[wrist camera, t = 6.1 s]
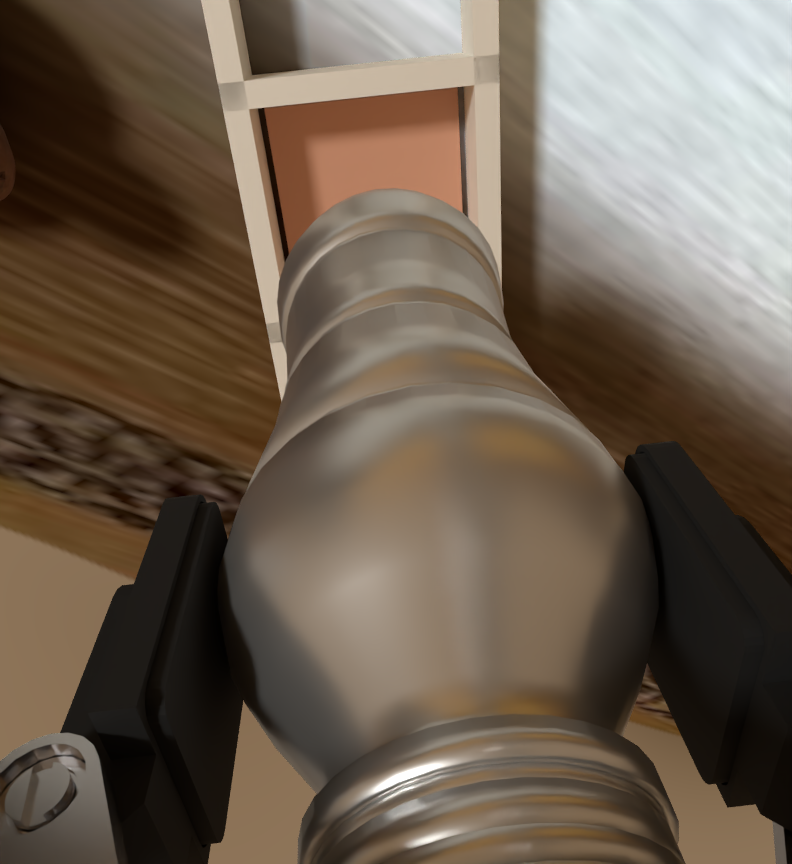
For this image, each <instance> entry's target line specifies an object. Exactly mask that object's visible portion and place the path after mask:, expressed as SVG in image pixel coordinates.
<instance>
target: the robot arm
mask: <svg viewBox="0 0 792 864" xmlns="http://www.w3.org/2000/svg"><path fill="white" fill-rule="evenodd" d="M624 474H625V475H626V477H627V478H628V480H629V481H630V483H631V484H632V486H633V487H634V489H635V490H636V492H637V493H638V495H639V496H640V498H641V499H642V502H643V505H644V508H645V511H646V514H647V517H648V520H649V523H650V528H651V532H652V537H653V544H654V551H655V559H656V566H657V574H658V595H659V609H658V614H657V618H656V623H655V627H654V632H653V637H652V641H651V646H650V650H649V655H648V660H647V663H648V665H649V667H650V670H651V672H652V674H653V676H654V678H655V680H656V682H657V684H658V687H659V689H660V691H661V693H662V695H663V697H664V699H665V701H666V704H667V706H668V708H669V710H670V712H671V714H672V716H673V718H674V721H675V723H676V725H677V727H678V729H679V731H680V733H681V736H682V738H683V740H684V742H685V744H686V746H687V748H688V750H689V753H690V755H691V757H692V759H693V761H694V763H695V765H696V767H697V770H698V772H699V773H700V775H701V777H702V779H703V780H704V781H705V783H707V784H716V785H717V787H718V789H719V791H720V793H721V795H722V797H723V799H724V801H725V803H726V805H727V807H736V806H744V805H753V804H756V806H757V808H758V810H759V812H760V814H762V815H763V816H765V817H766V818H769V819H770V820H772V821H773V832H774V844H775V856H776V864H792V575H791V573H790V572H789V571H788V570H787V568H786V567H785V566H784V565H783V563H782V562H781V561H780V560H779V558H778V557H777V556H776V555H775V553H774V552H773V551H772V550H771V548H770V547H769V546H768V545H767V543H766V542H765V541H764V540H763V538H762V537H761V536H760V535H759V533H758V532H757V531H756V530H755V528H754V527H753V526H752V525H751V524H750V523H749V522H748V521H747V520H746V519H745V518H744V517H741V516H739V515H734V513H733V512H732V511H731V510H730V508H729V507H728V506H727V504H726V503H725V502H724V501H723V499H722V498H721V497H720V495H719V494H718V493H717V492H716V490H715V489H714V488H713V487H712V485H711V484H710V483H709V481H708V480H707V479H706V478H705V476H704V475H703V474H702V472H701V471H700V470H699V469H698V467H697V466H696V465H695V464H694V462H693V461H692V460H691V458H690V457H689V456H688V455H687V453H686V452H685V451H684V449H683V448H682V447H681V446H680V445H679V444H678V443H677V442H675V441H670V442H661V443H652V444H643V445H639V446H638V447H637V450H636V453H635V454H633V455H628V456H627V457H626V460H625V467H624ZM227 542H228V539H227V535H226V532H225V528H224V524H223V521H222V517H221V514H220V510H219V507H218V505H217V503H216V502H210V503H206V500H205V498H204V496H203V495H192V496H183V497H175V498H167V499H165V501H164V503H163V505H162V508H161V511H160V513H159V516H158V519H157V522H156V524H155V527H154V530H153V533H152V535H151V538H150V541H149V544H148V547H147V549H146V552H145V555H144V558H143V560H142V563H141V566H140V569H139V572H138V574H137V577H136V580H135V583H134V584H131V585H122V586H121V587H120V588H118V589H117V591H116V593H115V594H114V596H113V598H112V601H111V604H110V606H109V609H108V611H107V614H106V616H105V619H104V622H103V624H102V627H101V629H100V632H99V634H98V637H97V640H96V642H95V645H94V647H93V650H92V653H91V655H90V658H89V660H88V663H87V665H86V668H85V670H84V673H83V676H82V678H81V681H80V683H79V686H78V689H77V691H76V694H75V696H74V699H73V701H72V704H71V707H70V709H69V712H68V714H67V717H66V720H65V722H64V725H63V727H62V730H61V732H60V733H57V734H49V735H46V736H43V737H40V738H37V739H34V740H31V741H29V742H28V743H26V744H24V745H22V746H20V747H19V748H17V749H15V750H13V751H12V752H11V753H10V754H8V755H7V756H6V757H5V758H4V759H2V760H1V761H0V864H208V858H209V852H210V846H211V844H213V843H220V842H221V841H222V839H223V836H224V831H225V825H226V819H227V811H228V804H229V797H230V790H231V783H232V776H233V769H234V761H235V754H236V748H237V741H238V734H239V726H240V719H241V712H242V705H243V698H242V696H241V694H240V692H239V690H238V688H237V686H236V685H235V683H234V681H233V679H232V677H231V673H230V668H229V663H228V658H227V653H226V648H225V643H224V638H223V632H222V627H221V622H220V617H219V611H218V599H217V586H218V573H219V566H220V563H221V560H222V557H223V554H224V552H225V548H226V545H227Z"/></svg>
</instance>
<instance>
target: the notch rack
mask: <svg viewBox="0 0 792 864" xmlns="http://www.w3.org/2000/svg"><path fill="white" fill-rule="evenodd" d="M201 2H202V7H203V12H204V17H205V22H206V27H207V32H208V37H209V42H210V47H211V51H212V56H213V61H214V66H215V71H216V76H217V81H218V86H219V91H220V96H221V101H222V106H223V111H224V116H225V121H226V126H227V131H228V136H229V141H230V146H231V151H232V156H233V161H234V166H235V171H236V176H237V181H238V186H239V191H240V196H241V201H242V206H243V211H244V216H245V221H246V226H247V231H248V236H249V241H250V246H251V251H252V256H253V261H254V266H255V271H256V276H257V281H258V286H259V291H260V296H261V301H262V306H263V311H264V316H265V321H266V326H267V331H268V336H269V341H270V346H271V351H272V356H273V361H274V366H275V371H276V376H277V381H278V386H279V391H280V396H281V401H282V399H283V396H284V393H285V387H286V383H287V354H286V351H285V348H284V345H283V342H282V339H281V332H280V325H279V316H278V307H277V297H278V287H279V280H280V277H281V274H282V270H283V267H284V264H285V259H284V253H283V248H282V242H281V236H280V231H279V225H278V219H277V214H276V208H275V202H274V197H273V191H272V185H271V180H270V174H269V168H268V163H267V157H266V151H265V146H264V140H263V134H262V129H261V123H260V117H259V112H258V108H264V111H265V116H266V122H267V128H268V134H269V140H270V145H271V151H272V157H273V163H274V169H275V174H276V180H277V186H278V192H279V198H280V203H281V209H282V215H283V221H284V227H285V233H286V238H287V244H288V250H289V254H290V252H291V250H292V249H293V247H294V245H295V243H296V242H297V240H298V239H299V238H300V237H301V236H302V234H303V233H304V232H305V231H306V230H307V229H308V228H309V226H310V225H311V224H312V223H313V222H314V221H315V220H316V219H317V218H318V217H319V216H321V215H322V214H323V213H325V212H326V211H327V210H328V209H330V208H331V207H332V206H334V205H335V204H337V203H339V202H341V201H343V200H345V199H347V198H349V197H351V196H353V195H356V194H359V193H363V192H367V191H370V190H374V189H388V188H399V189H407V190H414V191H418V192H421V193H424V194H426V195H429V196H432V197H435V198H437V199H440V200H442V201H444V202H446V203H447V204H449V205H451V206H452V207H454V208H456V209H457V210H459V211H460V212H462V186H461V161H460V136H459V110H458V88H457V87H462V86H463V87H464V116H465V144H466V172H467V201H468V218H469V219H470V220H471V221H472V222H473V223H474V224H475V225H476V226H477V227H478V228H479V230H480V231H481V233H482V234H483V236H484V237H485V239H486V240H487V242H488V243H489V245H490V247H491V249H492V252H493V255H494V257H495V260H496V263H497V265H498V271H499V276H500V281H501V288H502V263H501V172H500V81H499V0H460V2H461V31H462V53H456V54H446V55H437V56H427V57H418V58H408V59H399V60H390V61H380V62H371V63H361V64H352V65H342V66H333V67H324V68H314V69H305V70H295V71H286V72H277V73H267V74H258V75H252V72H251V66H250V61H249V55H248V49H247V44H246V38H245V32H244V27H243V21H242V15H241V10H240V4H239V0H201ZM453 87H454V88H453ZM443 88H445V89H443ZM434 89H436V90H434ZM425 90H426V91H425ZM415 91H417V92H415ZM406 92H408V93H406ZM396 93H398V94H396ZM387 94H389V95H387ZM378 95H379V96H378ZM368 96H370V97H368ZM359 97H361V98H359ZM350 98H351V99H350ZM340 99H342V100H340ZM331 100H333V101H331ZM322 101H323V102H322ZM312 102H314V103H312ZM303 103H304V104H303ZM293 104H295V105H293ZM284 105H286V106H284ZM275 106H276V107H275ZM265 107H267V108H265ZM462 213H463V212H462Z"/></svg>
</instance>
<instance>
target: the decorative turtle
mask: <svg viewBox="0 0 792 864" xmlns="http://www.w3.org/2000/svg"><path fill="white" fill-rule="evenodd" d="M15 176H16V172H15V160H14V157H13V153H12V150H11V148H10V145H9V142H8V139H7V137H6V134H5V132H4V129H3V128H2V126H1V124H0V201H1V200H3V199H5V198H6V197H7V196H8V195H9V194H10V193H11V191H12V189H13V186H14V183H15Z"/></svg>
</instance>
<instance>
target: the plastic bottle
mask: <svg viewBox="0 0 792 864" xmlns="http://www.w3.org/2000/svg"><path fill="white" fill-rule="evenodd" d="M503 306H504V301H503V294H502V288H501V281H500V276H499V271H498V265H497V263H496V260H495V257H494V255H493V252H492V249H491V247H490V245H489V243H488V242H487V240H486V239H485V237H484V236H483V234H482V233H481V231H480V230H479V228H478V227H477V226H476V225H475V224H474V223H473V222H472V221H471V220H470V219H469V218H468V217H467V216H465V215H464V214H463V213H462V212H460V211H459V210H457V209H456V208H454V207H452V206H451V205H449V204H447V203H446V202H444V201H442V200H440V199H437V198H435V197H432V196H429V195H426V194H424V193H421V192H418V191H414V190H407V189H399V188H388V189H374V190H370V191H367V192H363V193H359V194H356V195H353V196H351V197H349V198H347V199H345V200H343V201H341V202H339V203H337V204H335V205H334V206H332V207H331V208H330V209H328V210H327V211H326V212H325V213H323V214H322V215H321V216H319V217H318V218H317V219H316V220H315V221H314V222H313V223H312V224H311V225H310V226H309V228H308V229H307V230H306V231H305V232H304V233H303V234H302V236H301V237H300V238H299V239H298V240H297V242H296V243H295V245H294V247H293V249H292V250H291V252H290V254H289V256H288V257H287V259H286V261H285V264H284V267H283V270H282V274H281V277H280V280H279V287H278V297H277V307H278V316H279V325H280V332H281V339H282V342H283V345H284V348H285V351H286V354H287V383H286V387H285V393H284V396H283V399H282V402H281V406H280V410H279V414H278V418H277V422H276V426H275V428H274V430H273V432H272V435H271V437H270V439H269V441H268V443H267V446H266V448H265V450H264V452H263V454H262V457H261V459H260V461H259V463H258V465H257V468H256V470H255V472H254V474H253V477H252V479H251V481H250V483H249V485H248V488H247V491H246V493H245V495H244V496H243V498H242V500H241V503H240V506H239V509H238V511H237V514H236V517H235V520H234V523H233V526H232V528H231V532H230V535H229V538H228V542H227V545H226V548H225V552H224V554H223V557H222V560H221V563H220V566H219V573H218V586H217V599H218V611H219V617H220V622H221V627H222V632H223V638H224V643H225V648H226V653H227V658H228V663H229V668H230V673H231V677H232V679H233V681H234V683H235V685H236V686H237V688H238V690H239V692H240V694H241V696H242V698H243V700H244V702H245V704H246V705H247V707H248V708H249V710H250V711H251V712H252V714H253V715H254V717H255V718H256V720H257V721H258V722H259V724H260V726H261V727H262V729H263V730H264V731H265V733H266V735H267V736H268V738H269V739H270V740H271V742H272V743H273V745H274V746H275V748H276V749H277V750H278V751H279V752H280V754H281V755H282V756H283V757H284V758H285V759H286V760H287V761H288V762H289V764H290V765H291V766H292V767H293V768H294V769H295V770H296V771H297V772H298V774H299V775H300V776H301V777H302V778H303V779H304V780H305V781H306V783H307V784H308V785H309V786H310V787H311V788H312V789H313V790H314V791H315V793H316V794H317V795H316V796H315V797H314V799H313V801H312V802H311V804H310V806H309V808H308V809H307V811H306V813H305V815H304V817H303V818H302V823H301V828H300V833H299V838H298V864H685V862H684V859H683V857H682V854H681V852H680V850H679V847H678V845H677V844H678V841H679V823H678V819H677V817H676V814H675V812H674V809H673V807H672V805H671V802H670V800H669V798H668V795H667V793H666V791H665V789H664V786H663V784H662V782H661V780H660V777H659V775H658V773H657V771H656V768H655V766H654V764H653V762H652V761H651V760H650V759H649V758H648V757H647V756H646V755H645V754H644V752H643V751H642V750H641V749H640V748H639V747H638V746H637V745H635V744H634V743H632V742H630V741H629V740H627V739H625V738H624V737H623V734H624V732H625V729H626V726H627V724H628V721H629V718H630V716H631V713H632V710H633V708H634V705H635V702H636V700H637V697H638V694H639V692H640V688H641V684H642V680H643V676H644V672H645V668H646V664H647V660H648V655H649V650H650V646H651V641H652V637H653V632H654V627H655V623H656V618H657V614H658V609H659V595H658V574H657V566H656V559H655V551H654V544H653V537H652V532H651V528H650V523H649V520H648V517H647V514H646V511H645V508H644V505H643V502H642V499H641V498H640V496H639V495H638V493H637V492H636V490H635V489H634V487H633V486H632V484H631V483H630V481H629V480H628V478H627V477H626V475H625V474H624V472H623V471H622V470H621V468H620V467H619V466H618V465H617V463H616V462H615V461H614V459H613V458H612V457H611V456H610V454H609V453H608V451H607V450H606V449H605V447H604V446H603V445H602V443H601V442H600V440H599V439H598V438H596V437H595V436H594V435H593V434H592V433H591V432H590V431H589V430H588V429H587V428H586V427H585V425H584V424H583V423H582V422H581V421H580V420H579V419H578V418H577V417H576V416H575V415H574V414H573V413H572V412H571V411H570V410H569V409H568V408H567V407H566V406H565V405H564V404H563V403H562V402H561V401H560V400H559V399H558V398H557V397H556V395H555V394H554V393H553V392H552V391H551V390H550V389H549V388H548V387H547V386H546V385H545V384H544V383H543V382H542V381H541V380H540V379H539V378H538V377H537V376H536V375H535V374H534V372H533V371H532V369H531V368H530V366H529V365H528V363H527V361H526V360H525V359H524V357H523V356H522V354H521V353H520V351H519V349H518V348H517V346H516V345H515V343H514V342H513V340H512V339H511V337H510V334H509V330H508V327H507V324H506V320H505V317H504V313H503Z"/></svg>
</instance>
